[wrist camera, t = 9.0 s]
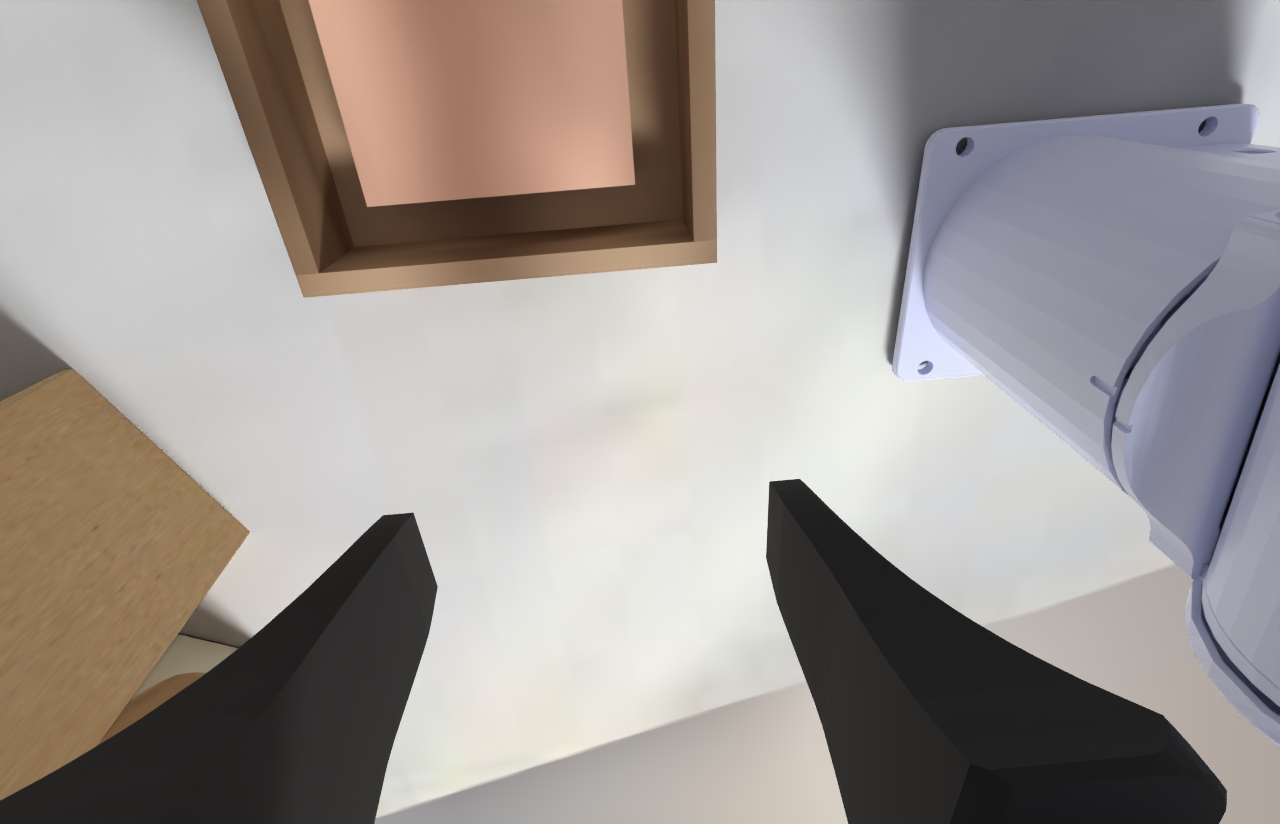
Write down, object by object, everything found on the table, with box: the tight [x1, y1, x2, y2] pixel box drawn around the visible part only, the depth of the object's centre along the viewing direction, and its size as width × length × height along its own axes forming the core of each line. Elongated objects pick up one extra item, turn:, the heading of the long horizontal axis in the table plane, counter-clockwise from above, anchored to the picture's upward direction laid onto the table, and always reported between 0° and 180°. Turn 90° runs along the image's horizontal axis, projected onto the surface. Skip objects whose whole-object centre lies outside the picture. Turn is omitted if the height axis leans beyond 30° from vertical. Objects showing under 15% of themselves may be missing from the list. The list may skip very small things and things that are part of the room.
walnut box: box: [197, 0, 717, 297], centre depth 15 cm, size 11×9×3 cm
